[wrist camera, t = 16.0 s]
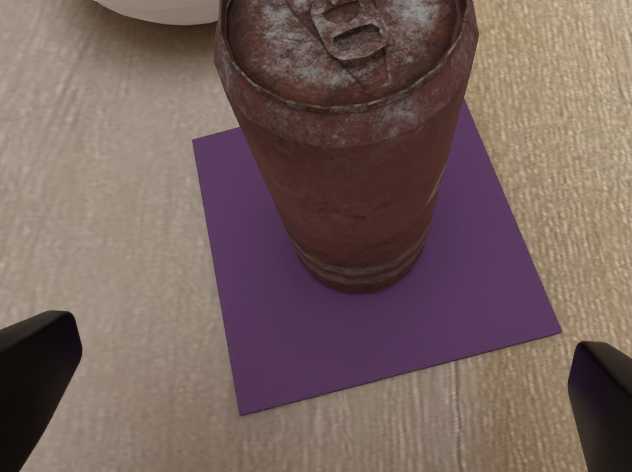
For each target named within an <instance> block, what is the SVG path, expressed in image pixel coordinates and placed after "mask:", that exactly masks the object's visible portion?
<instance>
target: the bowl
mask: <svg viewBox="0 0 632 472" xmlns="http://www.w3.org/2000/svg"><path fill="white" fill-rule="evenodd" d="M94 1H97V2H98V3H100V4H101V5H102V6H104V7H107V8H109V9H111V10H113V11H115V12H117V13H119V14H121V15H124V16H128V17H133V18H137V19H141V20H145V21H150V22H155V23H161V24H170V25H195V24H205V23H211V22H215V21H218V18H219V0H94Z"/></svg>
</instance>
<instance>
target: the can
mask: <svg viewBox="0 0 632 472" xmlns="http://www.w3.org/2000/svg"><path fill="white" fill-rule="evenodd" d="M478 37H479V32H478V27H477V21H476V16H475V11H474V5H473V1H472V0H219V18H218V23H217V26H216V33H215V55H214V63H215V66H216V68H217V71H218V74H219V77H220V79H221V82H222V85H223V88H224V91H225V93H226V96H227V98H228V100H229V102H230V105H231V107H232V109H233V111H234V114H235V116H236V118H237V120H238V123H239V125H240V127H241V129H242V132H243V134H244V136H245V138H246V141H247V143H248V145H249V148H250V150H251V152H252V154H253V157H254V159H255V161H256V163H257V166H258V168H259V170H260V172H261V175H262V177H263V179H264V181H265V184H266V186H267V188H268V190H269V193H270V195H271V197H272V199H273V202H274V204H275V206H276V208H277V211H278V213H279V215H280V217H281V220H282V222H283V224H284V226H285V229H286V231H287V233H288V235H289V238H290V240H291V242H292V244H293V247H294V249H295V251H296V253H297V256H298V258H299V260H300V262H301V263H302V264H303V265H304V267H305V268H306V269H307V270H308V272H309V273H310V274H311V275H312V276H313V277H314V278H316V279H317V280H319V281H320V282H322V283H324V284H325V285H327V286H328V287H330V288H333V289H337V290H341V291H345V292H349V293H365V292H375V291H378V290H380V289H383V288H386V287H388V286H391V285H393V284H395V283H396V282H398V281H399V280H400V279H401V278H403V277H404V276H405V275H406V274H408V273H409V272H410V271H411V270H412V268H413V267H414V265H415V264H416V262H417V261H418V259H419V257H420V256H421V254H422V252H423V248H424V245H425V241H426V237H427V234H428V230H429V226H430V222H431V219H432V215H433V211H434V207H435V204H436V200H437V196H438V192H439V189H440V185H441V181H442V177H443V174H444V170H445V166H446V162H447V159H448V155H449V151H450V147H451V144H452V140H453V136H454V132H455V129H456V125H457V121H458V117H459V114H460V110H461V106H462V102H463V99H464V95H465V91H466V87H467V84H468V80H469V76H470V72H471V69H472V64H473V60H474V55H475V51H476V46H477V42H478Z"/></svg>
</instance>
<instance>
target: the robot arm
mask: <svg viewBox="0 0 632 472" xmlns="http://www.w3.org/2000/svg"><path fill="white" fill-rule="evenodd" d="M81 357H82V344H81V340H80V336H79V332H78V328H77V325H76V321H75V318H74V316H73V314H72V313H70V312H68V311H54V310H50V311H46V312H43V313H41V314H38V315H36V316H33V317H31V318H28V319H26V320H24V321H21V322H19V323H16V324H14V325H11V326H9V327H6V328H4V329H1V330H0V472H19V471H20V470H21V468H22V467H23V465H24V464H25V462H26V460H27V459H28V457H29V456H30V454H31V452H32V451H33V449H34V448H35V446H36V445H37V443H38V441H39V440H40V438H41V436H42V435H43V433H44V431H45V429H46V428H47V426H48V424H49V422H50V420H51V418H52V416H53V414H54V412H55V410H56V408H57V406H58V404H59V402H60V400H61V398H62V396H63V394H64V392H65V390H66V388H67V386H68V384H69V382H70V380H71V378H72V376H73V374H74V372H75V371H76V369H77V367H78V365H79V363H80V360H81ZM568 394H569V398H570V402H571V406H572V410H573V414H574V418H575V422H576V426H577V430H578V434H579V438H580V442H581V445H582V449H583V453H584V457H585V461H586V465H587V469H588V472H632V359H631V358H630V357H628V356H627V355H625V354H624V353H622V352H620V351H619V350H617V349H616V348H614V347H613V346H611V345H609V344H608V343H605V342H592V341H581V342H580V343H578V345H577V346H576V349H575V353H574V357H573V361H572V366H571V370H570V374H569V379H568Z"/></svg>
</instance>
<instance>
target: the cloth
mask: <svg viewBox="0 0 632 472" xmlns="http://www.w3.org/2000/svg"><path fill="white" fill-rule="evenodd" d="M192 142H193V147H194V153H195V159H196V165H197V171H198V176H199V182H200V188H201V194H202V200H203V205H204V211H205V217H206V223H207V228H208V234H209V240H210V246H211V252H212V257H213V263H214V269H215V275H216V281H217V286H218V292H219V298H220V304H221V309H222V315H223V321H224V327H225V333H226V338H227V344H228V350H229V356H230V362H231V367H232V373H233V379H234V385H235V390H236V396H237V402H238V408H239V414H240V415H241V416H242V415H246V414H250V413H254V412H258V411H262V410H266V409H269V408H273V407H277V406H281V405H285V404H289V403H293V402H296V401H300V400H304V399H308V398H312V397H316V396H320V395H323V394H327V393H331V392H335V391H339V390H343V389H347V388H351V387H354V386H358V385H362V384H366V383H370V382H374V381H378V380H381V379H385V378H389V377H393V376H397V375H401V374H405V373H408V372H412V371H416V370H420V369H424V368H428V367H432V366H435V365H439V364H443V363H447V362H451V361H455V360H459V359H462V358H466V357H470V356H474V355H478V354H482V353H486V352H490V351H493V350H497V349H501V348H505V347H509V346H513V345H517V344H520V343H524V342H528V341H532V340H536V339H540V338H544V337H547V336H551V335H555V334H559V333H561V332H562V330H561V328H560V325H559V323H558V321H557V318H556V316H555V314H554V311H553V309H552V306H551V304H550V302H549V299H548V297H547V295H546V292H545V290H544V287H543V285H542V283H541V280H540V278H539V276H538V273H537V271H536V268H535V266H534V264H533V261H532V259H531V257H530V254H529V252H528V249H527V247H526V245H525V242H524V240H523V237H522V235H521V233H520V230H519V228H518V226H517V223H516V221H515V218H514V216H513V214H512V211H511V209H510V207H509V204H508V202H507V199H506V197H505V195H504V192H503V190H502V188H501V185H500V183H499V180H498V178H497V176H496V173H495V171H494V169H493V166H492V164H491V161H490V159H489V157H488V154H487V152H486V150H485V147H484V145H483V142H482V140H481V138H480V135H479V133H478V130H477V128H476V126H475V123H474V121H473V119H472V116H471V114H470V111H469V109H468V107H467V104H466V102H465V100H464V99H463V102H462V106H461V110H460V114H459V117H458V121H457V125H456V129H455V132H454V136H453V140H452V144H451V147H450V151H449V155H448V159H447V162H446V166H445V170H444V174H443V177H442V181H441V185H440V189H439V192H438V196H437V200H436V204H435V207H434V211H433V215H432V219H431V222H430V226H429V230H428V234H427V237H426V241H425V245H424V248H423V252H422V254H421V256H420V257H419V259H418V261H417V262H416V264H415V265H414V267H413V268H412V270H411V271H410V272H409V273H408V274H406V275H405V276H404V277H403V278H401V279H400V280H399V281H398V282H396V283H395V284H393V285H391V286H388V287H386V288H383V289H380V290H378V291H375V292H365V293H349V292H345V291H341V290H337V289H333V288H330V287H328V286H327V285H325V284H324V283H322V282H320V281H319V280H317V279H316V278H314V277H313V276H312V275H311V274H310V273H309V272H308V270H307V269H306V268H305V267H304V265H303V264H302V263H301V262H300V260H299V258H298V256H297V253H296V251H295V249H294V247H293V244H292V242H291V240H290V238H289V235H288V233H287V231H286V229H285V226H284V224H283V222H282V220H281V217H280V215H279V213H278V211H277V208H276V206H275V204H274V202H273V199H272V197H271V195H270V193H269V190H268V188H267V186H266V184H265V181H264V179H263V177H262V175H261V172H260V170H259V168H258V166H257V163H256V161H255V159H254V157H253V154H252V152H251V150H250V148H249V145H248V143H247V141H246V138H245V136H244V134H243V132H242V129H241V127H238V128H234V129H231V130H227V131H223V132H219V133H216V134H212V135H208V136H205V137H201V138H197V139H193V140H192Z"/></svg>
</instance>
